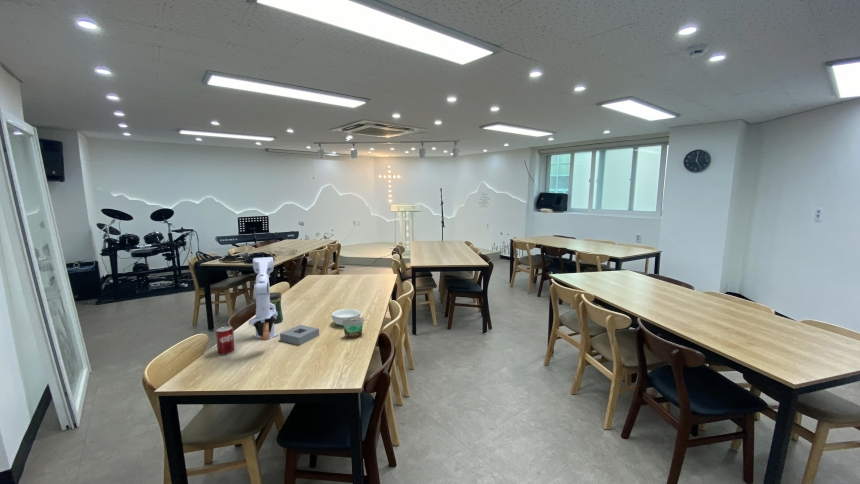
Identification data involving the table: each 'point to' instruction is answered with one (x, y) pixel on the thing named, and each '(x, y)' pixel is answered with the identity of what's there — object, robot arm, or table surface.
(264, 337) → the peg
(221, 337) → the soda can
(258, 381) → the table surface
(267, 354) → the table surface
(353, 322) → the food container
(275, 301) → the coffee jar
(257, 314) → the robot arm
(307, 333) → the socket
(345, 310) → the cereal bowl
